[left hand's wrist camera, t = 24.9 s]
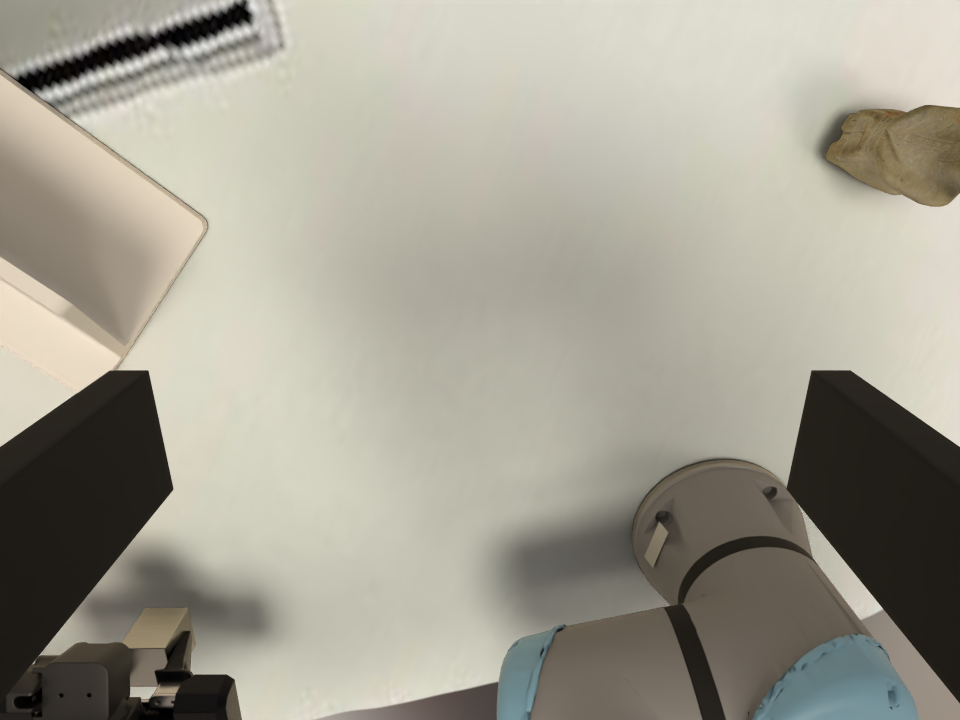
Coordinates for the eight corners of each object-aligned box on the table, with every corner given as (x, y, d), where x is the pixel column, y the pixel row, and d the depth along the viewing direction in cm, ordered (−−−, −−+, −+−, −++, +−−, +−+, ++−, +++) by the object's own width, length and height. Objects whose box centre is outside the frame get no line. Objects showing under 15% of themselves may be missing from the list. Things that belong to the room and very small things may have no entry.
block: (188, 607, 59) (164, 648, 54) (196, 644, 61) (173, 687, 56) (144, 607, 59) (117, 648, 54) (153, 644, 61) (127, 687, 56)
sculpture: (880, 206, 48) (1043, 245, 34) (802, 165, 47) (938, 188, 33) (930, 133, 46) (1125, 143, 32) (850, 88, 45) (1016, 78, 31)
